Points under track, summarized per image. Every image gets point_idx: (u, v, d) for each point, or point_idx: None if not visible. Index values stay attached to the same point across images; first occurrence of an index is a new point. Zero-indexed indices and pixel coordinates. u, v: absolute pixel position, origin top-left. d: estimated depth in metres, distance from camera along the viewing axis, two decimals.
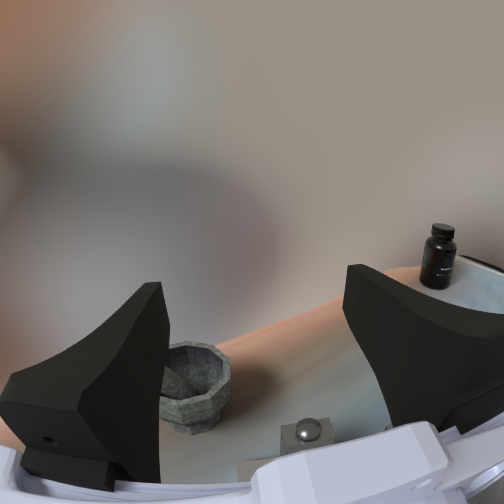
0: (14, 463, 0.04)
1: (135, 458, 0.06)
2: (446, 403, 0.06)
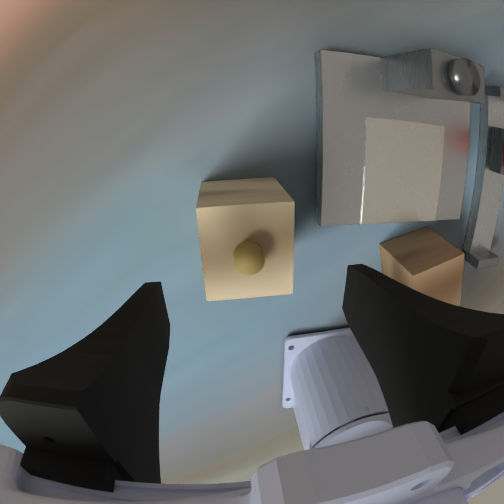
0: (14, 463, 0.04)
1: (135, 458, 0.06)
2: (446, 403, 0.06)
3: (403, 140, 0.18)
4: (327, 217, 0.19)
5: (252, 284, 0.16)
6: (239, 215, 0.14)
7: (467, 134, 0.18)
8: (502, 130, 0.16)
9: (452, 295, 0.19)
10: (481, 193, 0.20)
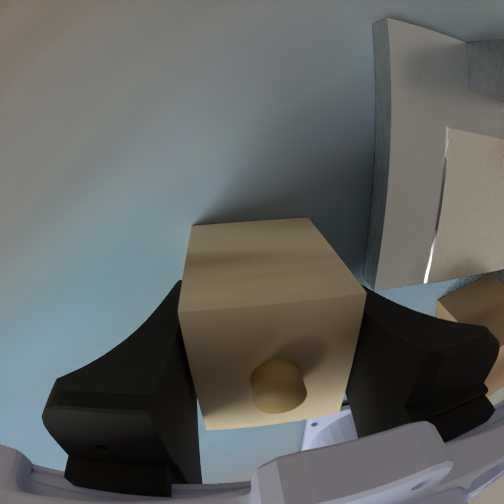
0: (14, 463, 0.04)
1: (186, 459, 0.06)
2: (403, 419, 0.06)
3: (487, 164, 0.11)
4: (384, 278, 0.12)
5: None
6: (262, 322, 0.07)
7: None
8: None
9: None
10: None
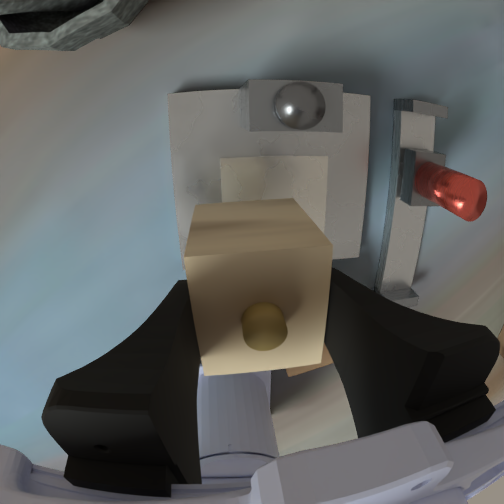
0: (14, 463, 0.04)
1: (186, 459, 0.06)
2: (404, 419, 0.06)
3: (269, 178, 0.18)
4: None
5: (267, 355, 0.11)
6: (249, 267, 0.09)
7: (365, 161, 0.18)
8: (414, 153, 0.17)
9: None
10: (391, 226, 0.21)
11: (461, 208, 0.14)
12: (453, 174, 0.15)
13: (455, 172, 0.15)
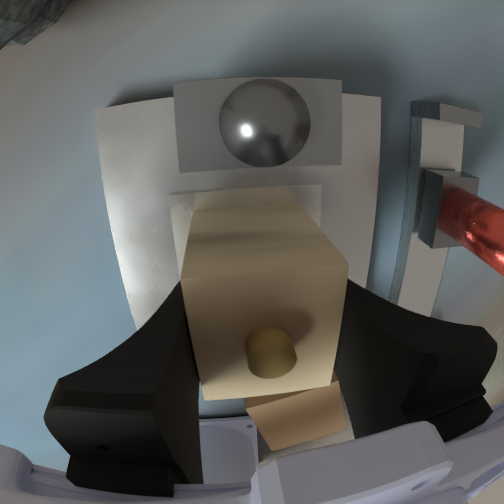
0: (14, 463, 0.04)
1: (188, 459, 0.06)
2: (399, 420, 0.06)
3: None
4: (142, 323, 0.15)
5: (273, 380, 0.10)
6: (255, 289, 0.08)
7: (373, 189, 0.13)
8: (440, 178, 0.12)
9: (328, 419, 0.15)
10: (405, 270, 0.16)
11: None
12: (495, 213, 0.10)
13: (497, 210, 0.10)
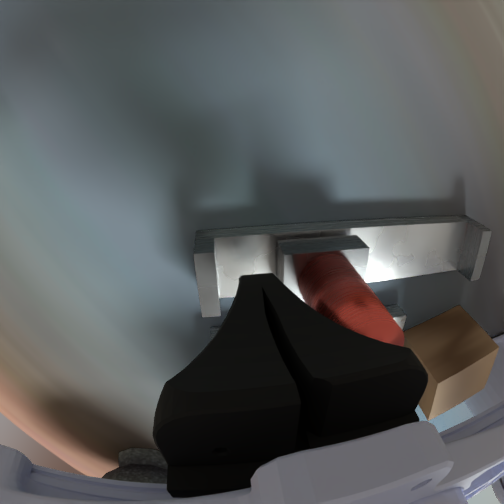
0: (14, 463, 0.04)
1: None
2: (307, 443, 0.05)
3: None
4: None
5: None
6: None
7: None
8: None
9: (476, 369, 0.14)
10: (382, 279, 0.15)
11: None
12: None
13: None
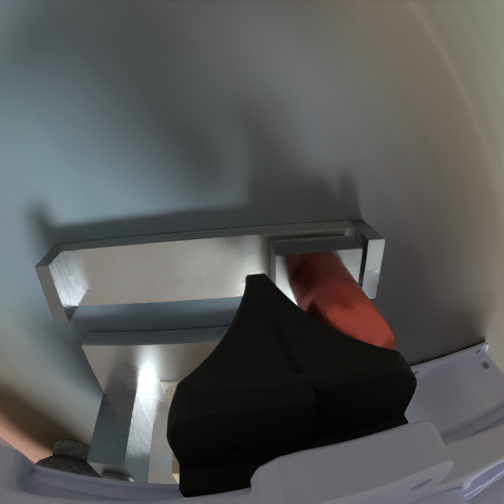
0: (14, 463, 0.04)
1: None
2: None
3: None
4: None
5: None
6: None
7: (154, 348, 0.15)
8: None
9: None
10: (239, 294, 0.15)
11: None
12: None
13: None
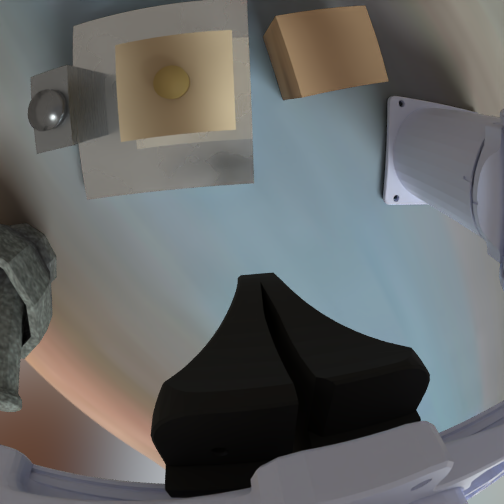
0: (14, 463, 0.04)
1: None
2: (309, 443, 0.05)
3: None
4: (244, 177, 0.19)
5: (214, 76, 0.11)
6: (128, 97, 0.11)
7: (135, 12, 0.14)
8: None
9: (340, 22, 0.12)
10: None
11: None
12: None
13: None
